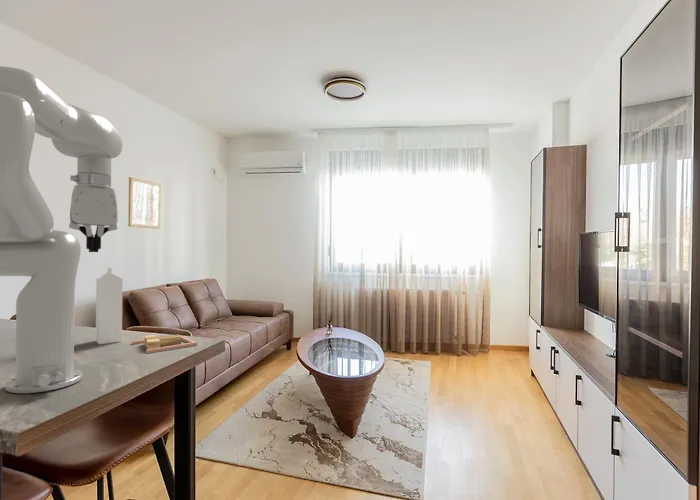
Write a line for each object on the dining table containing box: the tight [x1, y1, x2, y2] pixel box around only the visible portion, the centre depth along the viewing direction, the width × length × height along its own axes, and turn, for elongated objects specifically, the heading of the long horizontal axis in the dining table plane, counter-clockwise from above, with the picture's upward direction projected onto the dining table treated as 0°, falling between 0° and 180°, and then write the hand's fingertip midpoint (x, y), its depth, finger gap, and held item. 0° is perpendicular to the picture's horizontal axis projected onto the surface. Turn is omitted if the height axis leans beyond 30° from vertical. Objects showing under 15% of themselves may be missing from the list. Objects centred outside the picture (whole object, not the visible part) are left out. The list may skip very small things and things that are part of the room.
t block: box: [143, 334, 182, 350], centre depth 114 cm, size 9×9×2 cm
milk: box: [95, 266, 124, 345], centre depth 118 cm, size 6×6×22 cm
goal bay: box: [131, 334, 198, 354], centre depth 115 cm, size 14×14×1 cm
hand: (93, 251), depth 104 cm, fingers closed
